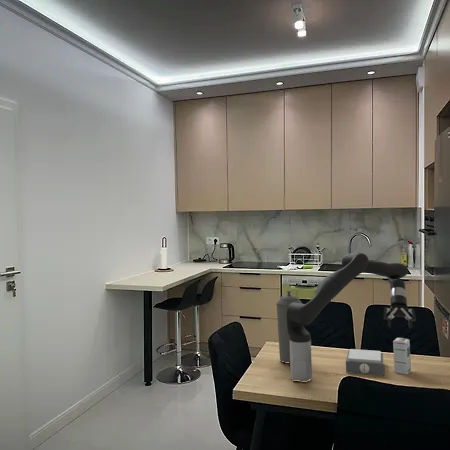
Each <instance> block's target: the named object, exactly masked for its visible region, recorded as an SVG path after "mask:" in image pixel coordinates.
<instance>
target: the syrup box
mask: <svg viewBox="0 0 450 450" xmlns="http://www.w3.org/2000/svg"><path fill="white" fill-rule="evenodd" d="M392 343H393V344H392V346H393V364H394V366H393V368H394V373H396V374H401V375H407V376H408V374H409V373H411V371H412V363H411V343H410V339H409V338H404V337H396V338H395V339H394V340H393V341H392Z"/></svg>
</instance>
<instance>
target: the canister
mask: <svg viewBox="0 0 450 450" xmlns="http://www.w3.org/2000/svg"><path fill="white" fill-rule="evenodd" d="M286 293H287V294H285V295H282V296H281V297H280V298H279V299H278V300H277V302H276V317H277V318H276V319H277V333H278V352H279V361H280V360H281V361H284V362H289V363H290V337H289V334H288V330H287V319H286V313H287V308H288V306H289V305H290V304H291V303H294V302H296V303H302V302H303V301H301V300H300V299H299V298H298V296H296V295H293V294H291V293H292V290H286ZM302 304H303V303H302ZM281 361H280V362H281Z"/></svg>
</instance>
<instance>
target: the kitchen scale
mask: <svg viewBox="0 0 450 450" xmlns="http://www.w3.org/2000/svg"><path fill="white" fill-rule="evenodd" d="M346 354H347V355H346V358H345V372H346V373H349V372H352V373H353V374H362V375H363V374H364V375H374V376H375V375H376V376H383V377H384V375H385V371H384V369H385V368H384V353H383V352H381V350H370V349H369V350H368V349H356V348H350V349H349V350H347V353H346Z"/></svg>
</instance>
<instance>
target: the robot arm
mask: <svg viewBox="0 0 450 450" xmlns="http://www.w3.org/2000/svg"><path fill="white" fill-rule="evenodd" d="M341 264H342V265H341V266H342V268H340V269H338V270H336V271H334V272H332V273H330V274H328V275H327V276H325V277H324V278H323V279H322V280H320V282H318V285H317V286H316V290H315V294H314V297H313V298H311V299H310V300H309V301H308V302H306V303H296V302H294V303H291V304H290V305H289V306H288V308H287V313H286V319H287V330H288V334H289V337H290V364H289V366H290V379H291V378H293V380H300V381H307V380H309V379H311V378H312V379H313V366H312V365H313V363H312V362H313V360H312V337H311V333H310V332H309V331H308V330H307V329H306V328H305V326H306V327H307V326H309V325H310V324H311V323H313V322H314V320H315V319H316V318H317V316H318V315H320V313H321V312H322V310H323V309H324V308H325V307H326V306H327V305H328V304H330V302H331V301H332V300H333V299H334V298H336V297H337V295H339V294H340V292H342V290H343V289H344V288H346V287H347V286H348V284H351V282H352V281H353V280H354V279H355V278H357V277H358V276H359V275H361V274H362V273H367V274H373V275H376V276H381V277H385V278H387V279H388V280H387V281H388V282H389V286H390V287H389V288H390V289H389V290H390V295H389V296H390V297H389V299H390V307H387V306H383V320H385V321H387V326H388V327H389V329H391V328H392V319H394V318H404V319H405V320H407V321H408V329H409V330H411V328H413V322H416V320H417V317H416V310H415V308H414V307H411V308H408V303H407V302H408V300H407V292H406V283H405V281H404V280H403V279H402V278H404V277H406V276H407V274H408V273H409V271H408V268H407V266H406V265H404V264H402V263H401V262H391V263H390V262H389V263H388V262H383V261H379V260H378V261H377V260H369V258H368V256H367V255H366V254H365V253H363V252H352V253H351V252H349V253H346V254H345V255H344V256H343V257H342V260H341ZM389 312H390V313H389ZM388 313H389V315H388ZM410 314H411V315H412V317H411V316H410ZM293 380H292V381H293Z"/></svg>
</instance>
